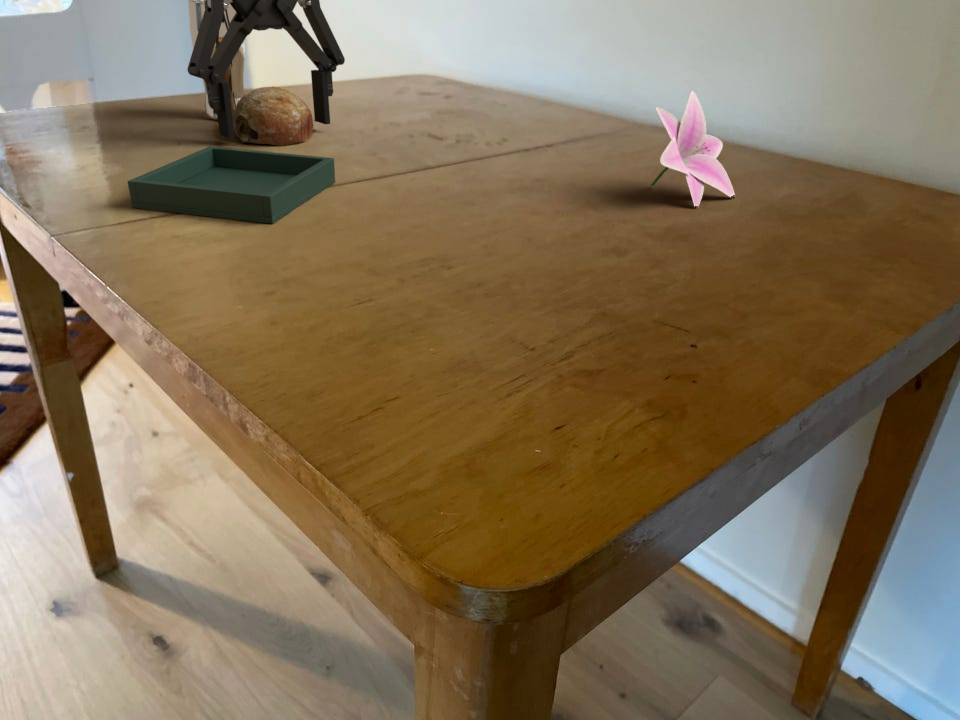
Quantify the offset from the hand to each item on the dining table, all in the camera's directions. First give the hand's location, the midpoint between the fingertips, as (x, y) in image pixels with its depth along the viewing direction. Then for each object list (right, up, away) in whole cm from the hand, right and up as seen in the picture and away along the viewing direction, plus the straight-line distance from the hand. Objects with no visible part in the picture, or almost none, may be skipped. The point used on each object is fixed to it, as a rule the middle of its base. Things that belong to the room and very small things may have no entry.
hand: (276, 129), depth 101 cm
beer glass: (-10, +5, +11) cm, 15 cm away
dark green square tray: (+2, -13, -22) cm, 25 cm away
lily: (+48, -12, -17) cm, 53 cm away
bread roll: (0, -1, +1) cm, 1 cm away
